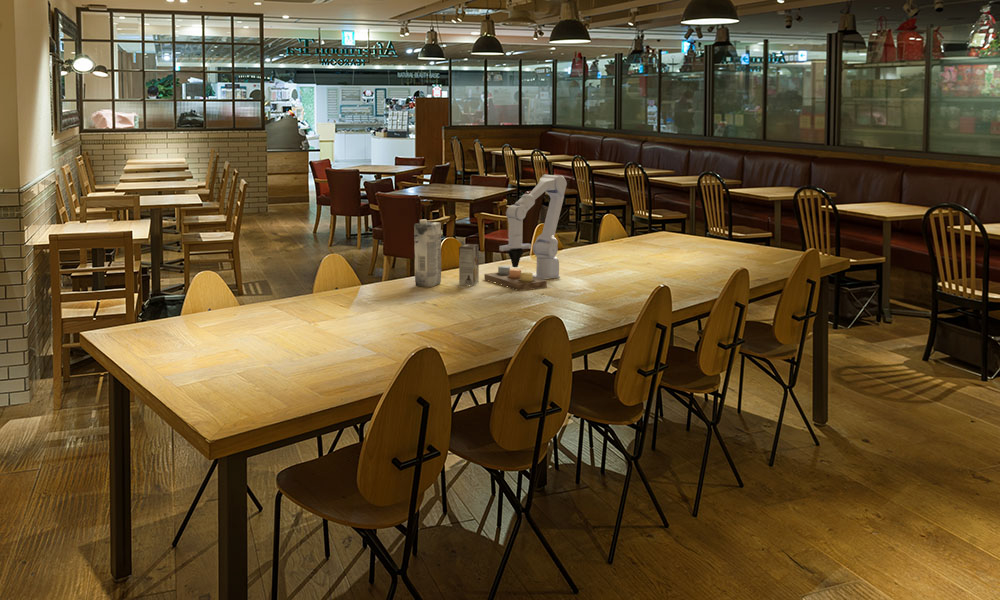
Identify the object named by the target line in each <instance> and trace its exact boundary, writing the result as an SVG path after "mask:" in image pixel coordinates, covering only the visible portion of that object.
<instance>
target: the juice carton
mask: <svg viewBox="0 0 1000 600" xmlns="http://www.w3.org/2000/svg"><path fill="white" fill-rule="evenodd" d="M441 226H442V222H437V221H428V220H427V219H425V218H424V219H419V223H414V225H413V228H414V229H413V230H414V233H413V234H414V235H413V236H414V237H413V239H414V279H415V280H414V282H415V286H417V287H425V288H432V287H435V286H438V285H440V284H441V282H442V227H441Z"/></svg>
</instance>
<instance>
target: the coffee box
mask: <svg viewBox="0 0 1000 600" xmlns="http://www.w3.org/2000/svg"><path fill="white" fill-rule="evenodd" d="M458 252H459V253H458V257H459V258H458V259H459V260H458V261H459V262H458V266H459V267H458V273H459V275H458V276H459V277H458V278H459V279H458V281H459V283H458V284H459V286H465V285H468V286H469V285H470V286H469V287H474V286H475V285H476V284H478V283H479V281H480V277H479V276H480V275H479V274H480V273H479V267H480V266H479V263H480V262H479V260H480V259H479V252H480V251H479V244H478V243H477V244H476V243H474V244H473V243H465V244H462V245H460V246H459V247H458ZM477 282H478V283H477ZM468 286H467V287H468Z"/></svg>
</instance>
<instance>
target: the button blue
mask: <svg viewBox="0 0 1000 600" xmlns="http://www.w3.org/2000/svg"><path fill="white" fill-rule="evenodd" d="M497 270H498V271H497V272H498V275H501V276H505V275H509V270H511V266H508V265H501V266H498V267H497Z"/></svg>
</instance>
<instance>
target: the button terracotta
mask: <svg viewBox="0 0 1000 600" xmlns="http://www.w3.org/2000/svg"><path fill="white" fill-rule="evenodd" d="M521 273H522V269H518V268H516V269H515V268H512V269H511V268H510V270H509V278H511V279H519V278H521Z"/></svg>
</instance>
